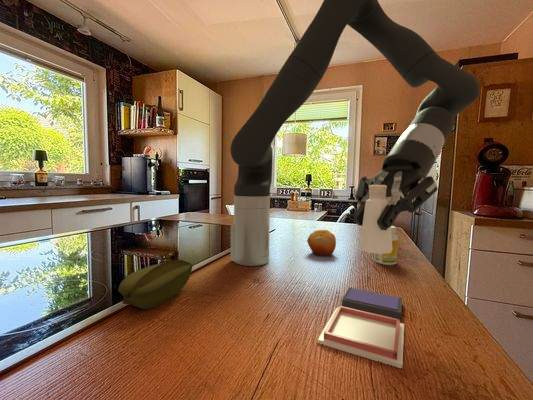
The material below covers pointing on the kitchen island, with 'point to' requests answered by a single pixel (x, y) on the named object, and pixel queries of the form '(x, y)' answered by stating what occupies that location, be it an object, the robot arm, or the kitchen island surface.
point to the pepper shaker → (375, 223)
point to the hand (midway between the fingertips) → (369, 224)
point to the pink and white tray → (365, 335)
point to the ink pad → (373, 302)
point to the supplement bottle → (389, 257)
